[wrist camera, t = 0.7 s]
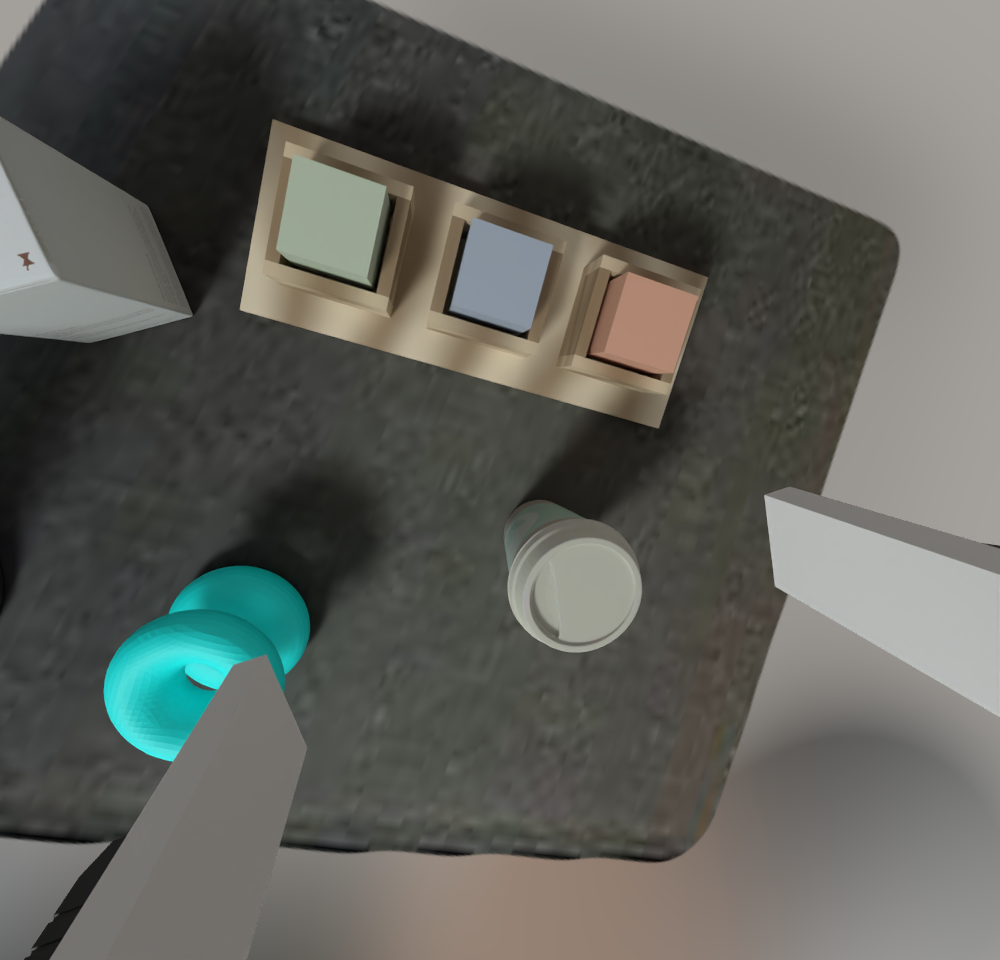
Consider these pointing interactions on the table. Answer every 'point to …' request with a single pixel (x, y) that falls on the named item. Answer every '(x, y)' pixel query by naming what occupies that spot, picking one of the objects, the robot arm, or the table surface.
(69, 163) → the supplement box
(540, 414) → the table surface
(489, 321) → the slate button
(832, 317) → the table surface
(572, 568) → the coffee cup
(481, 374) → the button panel
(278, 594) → the donuts
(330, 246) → the sage button
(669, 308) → the terracotta button
